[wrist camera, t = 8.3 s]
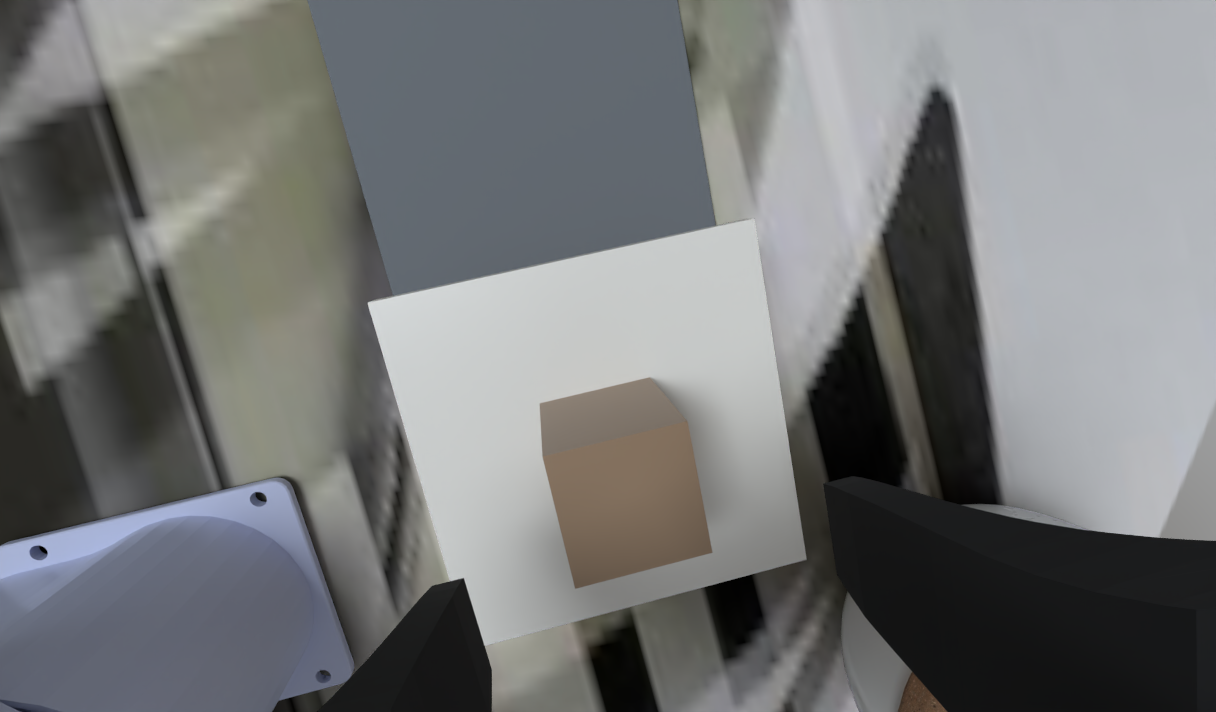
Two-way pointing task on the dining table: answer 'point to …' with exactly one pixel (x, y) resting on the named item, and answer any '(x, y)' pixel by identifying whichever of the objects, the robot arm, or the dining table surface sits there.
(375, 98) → the mat
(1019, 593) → the robot arm
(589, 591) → the lid
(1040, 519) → the lidded jar
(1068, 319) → the dining table surface
